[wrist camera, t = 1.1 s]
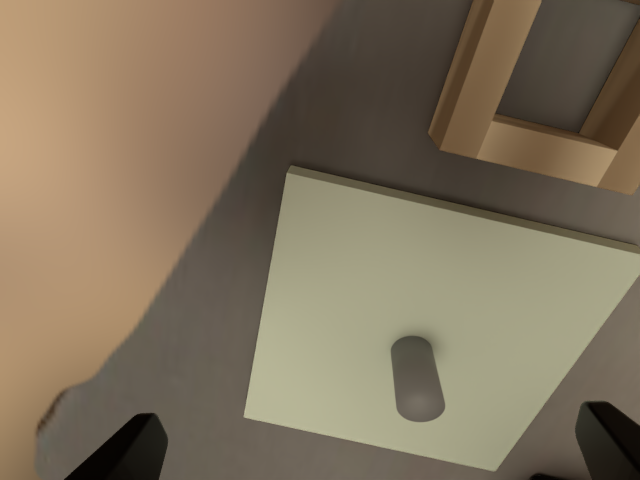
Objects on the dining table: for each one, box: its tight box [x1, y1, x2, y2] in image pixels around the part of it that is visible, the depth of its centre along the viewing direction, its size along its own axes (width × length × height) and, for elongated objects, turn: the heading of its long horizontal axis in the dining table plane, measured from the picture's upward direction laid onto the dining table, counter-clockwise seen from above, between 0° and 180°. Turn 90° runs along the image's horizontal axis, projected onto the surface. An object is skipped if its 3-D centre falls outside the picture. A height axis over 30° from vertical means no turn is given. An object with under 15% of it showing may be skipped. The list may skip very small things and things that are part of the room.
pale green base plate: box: [244, 165, 640, 472], centre depth 22 cm, size 18×18×5 cm
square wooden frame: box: [428, 0, 640, 195], centre depth 15 cm, size 8×8×3 cm
